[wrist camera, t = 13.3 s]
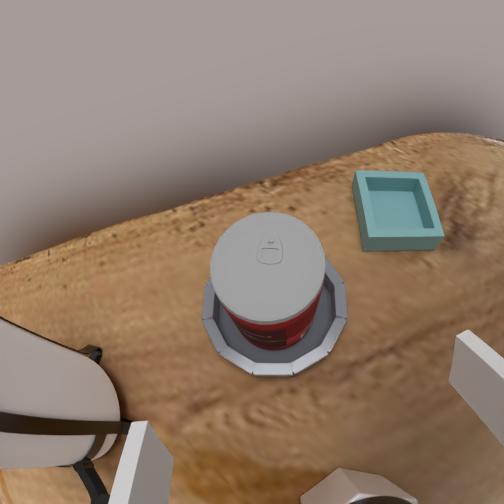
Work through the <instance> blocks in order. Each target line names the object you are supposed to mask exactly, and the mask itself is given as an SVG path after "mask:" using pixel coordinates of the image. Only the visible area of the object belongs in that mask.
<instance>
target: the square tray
mask: <svg viewBox="0 0 504 504" xmlns="http://www.w3.org/2000/svg"><path fill="white" fill-rule="evenodd" d="M352 190H353V195H354V200H355V206H356V211H357V217H358V222H359V229H360V235H361V241H362V248H363V251H400V250H435V248H436V247H437V246H438V244H439V243H440V242H441V240H442V239H443V238H444V233H443V230H442V226H441V223H440V220H439V216H438V213H437V210H436V207H435V204H434V201H433V198H432V195H431V192H430V189H429V187H428V184H427V181H426V179H425V176H424V173H414V172H393V171H355V175H354V179H353V184H352Z"/></svg>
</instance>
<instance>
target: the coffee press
mask: <svg viewBox="0 0 504 504" xmlns="http://www.w3.org/2000/svg"><path fill="white" fill-rule="evenodd" d="M0 319H2V320H4V321H6V322H8V323H10V324H12V325H14V326H16V327H18V328H16V327H14V326H12V325H10V324H8V323H6V322H4V321H2V320H0V469H20V468H39V467H51V466H57V467H71V466H73V468H74V470H75V471H76V472H77V473H78V474H79V476H80V478H81V480H82V481H83V483H84V485H85V487H86V489H87V491H88V493H89V495H90V498H91V504H94V502H95V501H96V500H97V499H98V497H99V496H100V495H101V494H107V495H109V494H108V492H107V490H106V488H105V486H104V484H103V482H102V481H101V479H100V477H99V475H98V474H97V472H96V470H95V468H94V464H93V463H92V460H95V459H97V458H99V457H101V456H102V455H104V454H105V453H106V452H107V451H108V450H109V449H110V448H111V446H112V445H113V443H114V441H115V439H116V437H117V434H125V435H128V432H129V429H130V426H131V423H132V422H135V421H131V420H126V419H122V418H120V408H119V402H118V398H117V394H116V391H115V389H114V386H113V384H112V382H111V380H110V379H109V377H108V376H107V374H106V373H105V372H104V370H103V369H102V368H101V367H100V366H99V365H98V364H97V362H98V361H99V360H100V358H101V356H102V350H101V348H100V347H97V346H93V345H87V346H86V347H84V348H82V349H80V350H75V349H72V348H70V347H67V346H64V345H62V344H60V343H57V342H55V341H52V340H50V339H48V338H45V337H43V336H41V335H38V334H36V333H34V332H32V331H29V330H27V329H25V328H23V327H21V326H19V325H17V324H15V323H12V322H10V321H8V320H6V319H4V318H2V317H0ZM19 328H21V329H23V330H25V331H27V332H29V333H27V332H25V331H23V330H21V329H19ZM30 333H32V334H34V335H36V336H38V337H36V336H34V335H32V334H30ZM39 337H41V338H43V339H46V340H48V341H50V342H48V341H46V340H43V339H41V338H39ZM51 342H53V343H55V344H58V345H60V346H63V347H65V348H63V347H60V346H58V345H55V344H53V343H51ZM66 348H68V349H71V350H73V351H76V352H79V353H82V354H90V353H91V352H92V354H91V356H90V357H89V358H88V357H86V356H83V355H81V354H78V353H76V352H73V351H71V350H68V349H66Z"/></svg>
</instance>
